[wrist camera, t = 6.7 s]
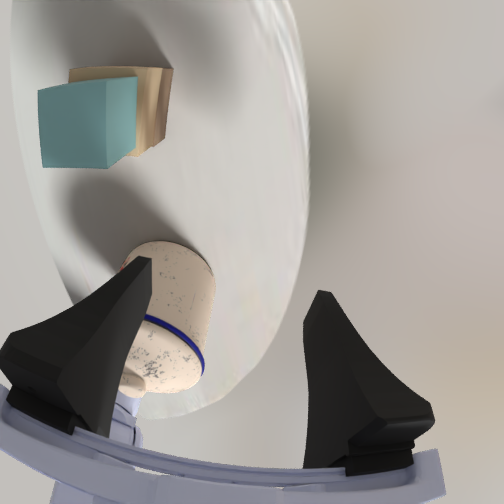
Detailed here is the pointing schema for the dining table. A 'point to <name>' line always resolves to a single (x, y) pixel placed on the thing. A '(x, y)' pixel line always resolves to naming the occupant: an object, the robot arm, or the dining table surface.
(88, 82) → the teal block
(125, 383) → the ceramic jar
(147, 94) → the oak slab upper
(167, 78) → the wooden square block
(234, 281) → the dining table surface
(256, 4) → the dining table surface
